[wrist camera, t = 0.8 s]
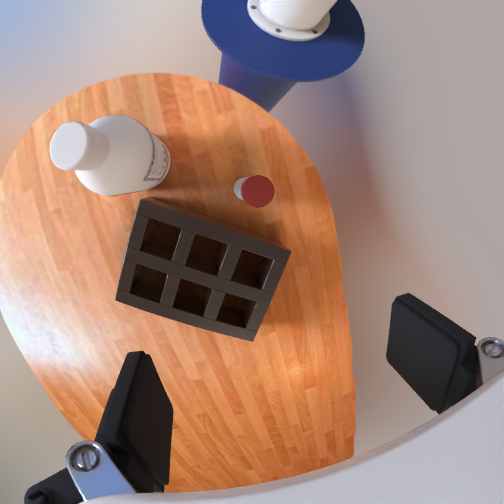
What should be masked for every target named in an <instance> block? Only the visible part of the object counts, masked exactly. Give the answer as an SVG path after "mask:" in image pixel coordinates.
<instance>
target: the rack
mask: <svg viewBox="0 0 504 504" xmlns="http://www.w3.org/2000/svg"><path fill="white" fill-rule="evenodd" d="M155 220H157V221H160V222H163V223H166V224H169V225H172V226H175V227H178V228H181V229H182V230H181V233H180V236H179V239H178V242H177V245H176V248H175V250H174V249H171V248H168V247H165V246H162V245H159V244H156V243H153V242H150V241H149V239H150V235H151V232H152V228H153V225H154V222H155ZM195 234H198V235H201V236H204V237H207V238H210V239H213V240H216V241H219V242H222V243H223V246H222V249H221V252H220V254H219V257H218V260H217V263H213V262H210V261H207V260H204V259H201V258H198V257H195V256H192V255H189V252H190V249H191V246H192V243H193V240H194V237H195ZM242 249H243V250H246V251H249V252H252V253H255V254H258V255H261V256H263V257H262V260H261V262H260V265H259V267H258V270H257V272H256V275H255V276H253V275H250V274H247V273H244V272H241V271H238V270H235V268H236V265H237V262H238V260H239V257H240V255H241V252H242ZM290 254H291V251H290V250H289V249H288V248H287V247H286V246H285V245H283V244H282V243H281V242H279V241H276V240H274V239H271V238H268V237H265V236H262V235H260V234H257V233H254V232H251V231H248V230H246V229H243V228H240V227H237V226H234V225H231V224H228V223H226V222H223V221H220V220H217V219H214V218H211V217H208V216H205V215H202V214H199V213H196V212H194V211H191V210H188V209H185V208H182V207H179V206H176V205H173V204H170V203H167V202H164V201H161V200H158V199H155V198H152V197H148V198H144V199H141V200H140V202H139V205H138V208H137V212H136V215H135V219H134V222H133V226H132V229H131V233H130V237H129V240H128V244H127V248H126V252H125V256H124V261H123V265H122V270H121V274H120V279H119V284H118V289H117V293H116V299H115V300H116V301H119V302H121V303H124V304H127V305H130V306H133V307H135V308H138V309H141V310H144V311H147V312H150V313H153V314H156V315H159V316H162V317H166V318H169V319H172V320H175V321H178V322H182V323H185V324H188V325H192V326H195V327H199V328H202V329H206V330H209V331H213V332H217V333H221V334H224V335H228V336H232V337H236V338H240V339H244V340H248V341H252V342H253V340H254V338H255V336H256V333H257V331H258V329H259V327H260V325H261V322H262V320H263V318H264V315H265V313H266V311H267V309H268V306H269V304H270V301H271V299H272V297H273V294H274V292H275V290H276V287H277V285H278V283H279V280H280V278H281V276H282V273H283V271H284V268H285V266H286V263H287V261H288V259H289V256H290ZM142 266H145V267H148V268H151V269H154V270H157V271H160V272H163V273H166V274H168V275H167V278H166V282H165V285H164V287H161V286H158V285H155V284H152V283H149V282H146V281H143V280H140V279H139V276H140V272H141V268H142ZM181 279H184V280H187V281H190V282H193V283H197V284H200V285H203V286H206V287H208V288H207V291H206V294H205V297H204V300H202V299H199V298H195V297H192V296H189V295H186V294H183V293H180V292H177V290H178V287H179V284H180V280H181ZM226 293H229V294H232V295H236V296H239V297H243V298H246V300H245V302H244V305H243V307H242V310H241V311H240V310H236V309H233V308H229V307H226V306H222V302H223V300H224V297H225V294H226Z"/></svg>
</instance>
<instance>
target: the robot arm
mask: <svg viewBox="0 0 504 504" xmlns="http://www.w3.org/2000/svg"><path fill="white" fill-rule="evenodd" d="M336 2H337V0H248V3H247V10H248V13H249V15H250V17H251V19H252V20H253V21H254V23H255V24H256V25H257V26H258V27H260V28H261V29H262V30H264V31H265V32H267V33H269V34H270V35H273V36H275V37H277V38H281V39H284V40H289V41H309V40H312V39H315V38H317V37H319V36H321V35H322V34H323V33H324V32H325V30H326V29H327V28H328V26H329V23H330V14H329V10H330V9H331V7H332V6H333V5H334V4H335V3H336ZM475 340H476V337H474V336H473V335H472V334H470V333H469V332H467V331H466V330H465V329H463V328H462V327H460V326H459V325H457V324H456V323H454V322H453V321H451V320H450V319H448V318H447V317H445V316H444V315H442V314H441V313H439V312H438V311H436V310H435V309H433V308H432V307H430V306H429V305H427V304H426V303H424V302H423V301H421V300H419V299H418V298H416V297H415V296H413V295H412V294H410V293H407V294H403V295H401V296H397V297H396V298H395V301H394V302H393V303H392V310H391V320H390V330H389V338H388V346H387V353H386V358H387V361H388V362H389V364H390V365H391V366H392V367H393V368H394V369H395V370H396V371H397V372H398V373H399V374H400V375H401V377H402V378H403V379H404V380H405V381H406V382H407V383H408V384H409V385H410V386H411V388H412V389H413V390H414V391H415V392H416V393H417V394H418V395H419V396H420V398H421V399H422V400H423V401H424V402H425V403H426V404H427V405H428V406H429V407H430V409H431V410H435V411H437V413H438V414H439V415H438V416H436V417H435V418H433V419H431V420H430V421H428V422H426V423H425V424H423V425H421V426H419V427H417V428H416V429H414V430H412V431H410V432H408V433H406V434H404V435H402V436H400V437H398V438H396V439H394V440H393V441H390V442H388V443H386V444H384V445H382V446H379V447H377V448H375V449H373V450H370V451H368V452H365V453H363V454H360V455H358V456H355V457H353V458H350V459H347V460H345V461H342V462H339V463H336V464H333V465H330V466H327V467H324V468H321V469H318V470H314V471H311V472H307V473H304V474H300V475H296V476H293V477H289V478H284V479H280V480H275V481H271V482H266V483H261V484H255V485H249V486H242V487H235V488H227V489H219V490H209V491H196V492H173V493H153V492H164V485H168V483H169V471H170V452H171V437H172V424H173V407H172V404H171V402H170V400H169V398H168V396H167V394H166V391H165V389H164V387H163V385H162V382H161V380H160V378H159V375H158V373H157V371H156V368H155V366H154V363H153V361H152V358H151V356H150V355H149V354H145V352H144V351H137V352H129V353H128V354H127V356H126V358H125V361H124V363H123V366H122V369H121V371H120V374H119V377H118V379H117V382H116V385H115V387H114V388H113V389H112V391H111V393H110V396H109V399H108V402H107V404H106V407H105V410H104V413H103V416H102V419H101V422H100V425H99V428H98V431H97V434H96V437H95V441H91V440H85V441H81V442H78V443H76V444H75V445H73V446H72V447H71V448H70V449H69V450H68V452H67V454H66V458H65V462H66V466H67V467H66V468H65V469H63V470H61V471H59V472H57V473H56V474H54V475H52V476H50V477H48V478H47V479H45V480H43V481H41V482H39V483H37V484H35V485H33V486H32V487H30V488H29V489H28V490H27V492H26V494H25V498H24V503H25V504H504V342H503V341H502V340H500V339H498V338H493V337H488V338H484V339H482V340H481V341H479V343H478V345H477V346H475V345H474V343H475ZM451 406H452V407H451ZM450 407H451V408H450Z"/></svg>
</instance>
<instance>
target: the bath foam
mask: <svg viewBox="0 0 504 504" xmlns="http://www.w3.org/2000/svg"><path fill="white" fill-rule="evenodd" d="M50 156H51V159H52V161H53V163H54V164H55V165H56V166H57V167H58V168H60V169H63V170H75V172H76V175H77V177H78V178H79V180H80V181H81V182H82V183H83V184H84V185H85V186H86V187H87V188H88V189H90V190H91V191H93V192H96V193H98V194H102V195H107V196H117V195H122V194H128V193H134V192H139V191H144V190H149V189H152V188H154V187H156V186H157V185H159V184H160V183H161V182H162V181H163V180H164V179H165V177H166V176H167V174H168V172H169V169H170V163H171V158H170V153H169V150H168V148H167V146H166V145H165V144H164V142H163V141H161V140H160V139H159V138H158V137H157V136H156V135H154V134H153V133H152V132H151V131H150V130H148V129H147V128H146V127H145V126H143V125H142V124H141V123H140V122H138V121H137V120H135V119H133V118H130V117H127V116H123V115H109V116H105V117H102V118H99V119H97V120H95V121H93V122H92V123H90V124H89V125H87V124H84V123H82V122H79V121H70V122H67V123H65V124H63V125H62V126H61V127H59V128H58V130H57V131H56V132H55V134H54V136H53V138H52V140H51V144H50Z"/></svg>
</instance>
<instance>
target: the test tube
mask: <svg viewBox="0 0 504 504" xmlns="http://www.w3.org/2000/svg"><path fill="white" fill-rule="evenodd" d="M233 189H234V193H235V195H236V196H237V197H238V198H240V199H241V200H243V201H245V202H246V203H247V204H249V205H250V206H253V207H258V208H259V207H264V206H266V205H267V204H269V203H270V202H271V200H272V199H273V196H274V186H273V184H272V182H271V181H270V180H269V179H268V178H266V177H264V176H260V175H256V176H251V177H243V178H240V179H238V180H237V181H236V182H235V184H234V188H233Z"/></svg>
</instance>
